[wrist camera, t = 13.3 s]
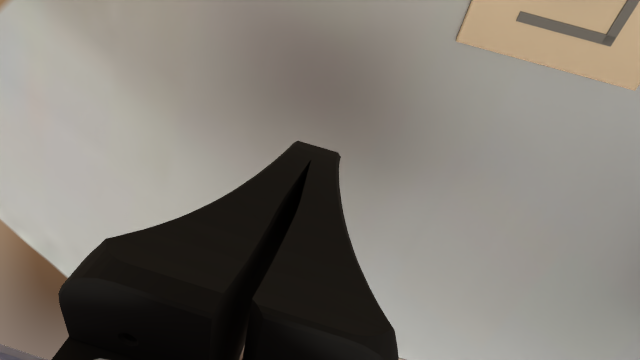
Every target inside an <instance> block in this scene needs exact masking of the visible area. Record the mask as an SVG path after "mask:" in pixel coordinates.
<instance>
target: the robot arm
mask: <svg viewBox="0 0 640 360" xmlns="http://www.w3.org/2000/svg"><path fill="white" fill-rule="evenodd" d="M340 158H341V157H340V155H339V153H338V152H334V151H331V150H327V149H324V148H321V147H317V146H314V145H310V144H307V143H303V142H300V141H297V142H295V143H293V144H292V145H291V146H290V147H289V148H288V149H287V150H286V151H285V152H284V153H283V154H282V155H281V156H279V157H278V158H277V159H276V160H275V161H274V162H272V163H271V164H270V165H269V166H267V167H266V168H265V169H264V170H262V171H261V172H260V173H258V174H257V175H256V176H254V177H253V178H251V179H250V180H248V181H247V182H245V183H244V184H243V185H241V186H240V187H238V188H237V189H235V190H233V191H232V192H230V193H228V194H227V195H225V196H223V197H221V198H220V199H218V200H216V201H214V202H212V203H210V204H208V205H206V206H204V207H202V208H200V209H198V210H196V211H193V212H191V213H189V214H187V215H184V216H182V217H179V218H177V219H174V220H171V221H168V222H166V223H163V224H160V225H157V226H154V227H150V228H147V229H144V230H140V231H136V232H132V233H128V234H124V235H120V236H116V237H112V238H107V239H105V240H104V241H103V242H102V243H101V244H100V245H99V246H98V247H97V248H96V249H94V250H93V251H92V252H91V253H90V254H89V255H88V256H87V257H86V258H85V259H84V260H83V262H82V263H81V264H80V265H79V266H78V267H77V269H76V270H75V271H74V272H73V273H72V274H71V276H70V277H69V278H68V279H67V280H66V281H65V283H64V284H63V285H62V287H61V289H60V291H59V303H60V307H61V310H62V314H63V317H64V321H65V324H66V327H67V331H68V333H69V337H68V339H67V340H66V341H65V343H64V344H63V345H62V347H61V348H60V349H59V351H58V352H57V353H56V355H55V356H54V357H53V359H52V360H239V359H240V356H241V353H242V350H243V348H244V352H243V358H242V360H399V358H398V349H397V342H396V336H395V331H394V329H393V327H392V326H391V324H390V322H389V321H388V319H387V318H386V316H385V315H384V313H383V311H382V310H381V308H380V306H379V304H378V303H377V301H376V299H375V297H374V295H373V293H372V291H371V290H370V288H369V286H368V283H367V281H366V279H365V277H364V274H363V272H362V270H361V268H360V266H359V263H358V261H357V258H356V256H355V253H354V250H353V247H352V244H351V241H350V238H349V234H348V231H347V227H346V223H345V219H344V214H343V209H342V203H341V196H340V188H339V162H340ZM244 345H245V346H244ZM0 360H47V359H44V358H41V357H38V356H35V355H32V354H29V353H26V352H23V351H20V350H16V349H14V348H10V347H8V346H5V345H1V344H0Z"/></svg>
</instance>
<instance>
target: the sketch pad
mask: <svg viewBox="0 0 640 360" xmlns="http://www.w3.org/2000/svg"><path fill="white" fill-rule="evenodd" d="M456 41H457V42H460V43H464V44H468V45H471V46H475V47H478V48H482V49H486V50H489V51H493V52H497V53H500V54H504V55H507V56H511V57H515V58H518V59H522V60H526V61H529V62H533V63H537V64H540V65H544V66H547V67H551V68H555V69H558V70H562V71H566V72H569V73H573V74H576V75H580V76H584V77H587V78H591V79H595V80H598V81H602V82H605V83H609V84H613V85H616V86H620V87H624V88H627V89H631V90H636V88H637V87H638V86H639V84H640V0H472V1H471V3H470V6H469V8H468V11H467V13H466V16H465V18H464V21H463V23H462V26H461V28H460V31H459V33H458V36H457V38H456Z"/></svg>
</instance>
